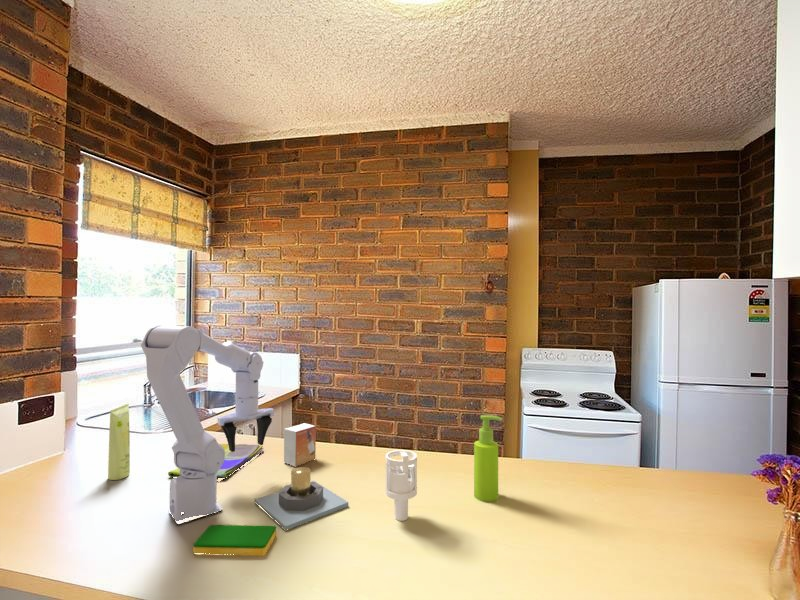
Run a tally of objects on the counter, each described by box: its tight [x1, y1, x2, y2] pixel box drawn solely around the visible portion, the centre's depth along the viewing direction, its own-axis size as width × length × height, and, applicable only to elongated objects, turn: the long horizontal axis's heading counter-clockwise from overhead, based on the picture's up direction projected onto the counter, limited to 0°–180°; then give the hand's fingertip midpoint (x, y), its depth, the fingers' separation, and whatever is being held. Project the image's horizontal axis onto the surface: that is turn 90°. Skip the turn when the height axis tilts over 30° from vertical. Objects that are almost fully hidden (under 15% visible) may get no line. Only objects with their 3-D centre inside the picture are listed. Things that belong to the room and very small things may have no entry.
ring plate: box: [254, 480, 349, 531], centre depth 97 cm, size 16×16×4 cm
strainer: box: [385, 449, 418, 522], centre depth 92 cm, size 7×7×15 cm
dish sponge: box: [192, 524, 277, 557], centre depth 81 cm, size 7×14×2 cm, turn 89°
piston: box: [290, 466, 312, 497], centre depth 97 cm, size 4×4×7 cm
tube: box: [107, 402, 131, 481], centre depth 113 cm, size 6×5×20 cm
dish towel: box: [167, 443, 265, 480], centre depth 123 cm, size 18×24×3 cm
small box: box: [283, 422, 317, 467], centre depth 125 cm, size 8×6×10 cm
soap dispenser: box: [473, 414, 503, 503], centre depth 102 cm, size 6×7×20 cm
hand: (246, 447), depth 110 cm, fingers open, 7 cm apart
